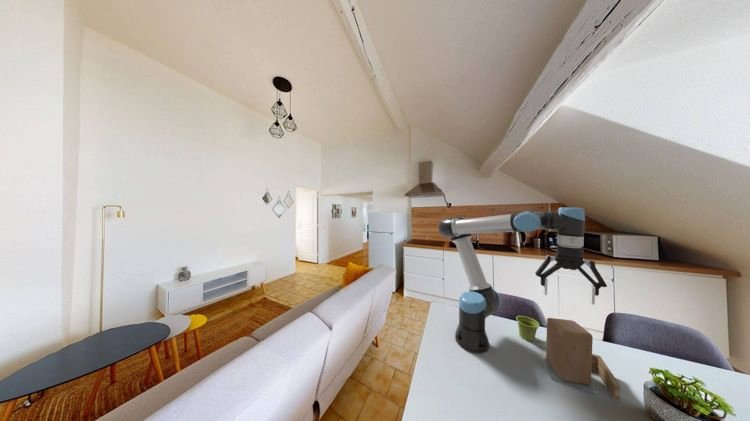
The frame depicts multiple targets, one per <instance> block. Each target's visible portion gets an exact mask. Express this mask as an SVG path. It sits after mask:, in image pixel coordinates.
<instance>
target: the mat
mask: <svg viewBox="0 0 750 421" xmlns="http://www.w3.org/2000/svg"><path fill="white" fill-rule="evenodd" d="M544 359H545V363H546V366H547V369H548V373H549V377H550V380H553V381H556V382H558V383H560V384H561V383H562V384H564V385H567V386H570V387H572V388H575V389H578V390H581V391H584V392H586V393H588V394H593V395H594V396H596V393H595V391H594V388H593V386H592V384H590V385H585V384H579V383H573V382H568V381H563V380H561V379H560V378H559V377H558V376H557V375H556V373H555V372H554V371H553V370H552V368H551V367H550V366H549V365H548V363H547V362H546V357H545V358H544Z"/></svg>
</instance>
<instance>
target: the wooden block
mask: <svg viewBox="0 0 750 421" xmlns="http://www.w3.org/2000/svg"><path fill="white" fill-rule="evenodd" d="M545 340H546V341H545V358H546V360H545V363H546V362H547V363H548V365H549V366H550V367H551V368H552V370H553V371H554V372H555V373H556V375H557V376H558V377H559V378H560V379H561V380H563V381H568V382H573V383H579V384H585V385H592V369H591V368H592V354H593V343H594V342H593V340H594V339H593V334H592V333H590V332H589V331H588V330H587V329H585V328H584V327H583V326H581V325H580V324H578V323H577V322H576V321H574V320H571V319H562V318H555V317H554V318H553V317H548V318H547V319H546V339H545ZM547 363H546V364H547Z"/></svg>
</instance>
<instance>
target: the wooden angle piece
mask: <svg viewBox="0 0 750 421" xmlns="http://www.w3.org/2000/svg"><path fill="white" fill-rule="evenodd" d="M591 370H593V371H596V373H597V374H598V375H599V377H600V378H601V380H602V382H603V384H604V386H605V388H606V389H607V390H608V392H609V394H610V396H611V397H612V399H613V400H614V401H617V402H620V393H621V392H620V391H621V390H620V388H621V384H620V383H619V382H618V380H617V379H616V377H615V376H614V374H613V373H612V371H611V369H609V367H608V366H607V364H606V362H605V361H604V359H603V358H602V357H601V355H598V354H595V353H592V368H591Z"/></svg>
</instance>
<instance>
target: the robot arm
mask: <svg viewBox="0 0 750 421" xmlns="http://www.w3.org/2000/svg"><path fill="white" fill-rule="evenodd" d="M585 216H586V211H585V209H584V208H582V207H558V210H557V211H537V210H536V211H535V210H528V211H527V210H526V211H523V212H519V213H518V212H517V213H509V214H500V215H491V216H483V217H482V216H481V217H473V218H466V217H463V216H453V217H445V218H443V219H441V220H440V221H439V223H438V226H437V230H438V232H439V234H440V235H441V236H442V237H444V238H448V239H450V240H451V242H452V243H454V245H455V246H456V249H457V252H458V255H459V259H460V260H461V263H462V265H463V266H462V267H463V269H464V272H465V275H466V276H467V277H466V278H467V280H468V283H469V287H468V291H464V292H463V293H460V296H459V301H458V306H459V307H458V309H459V311H458V321H459V322H458V326H457V327H456V330H455V332H454V333H455V334H454V336H455V338H454V340H455V342H456V343H457V344H458V345H459V346H460V347H461V348H462V349H464V350H465V351H468V352H471V353H473V354H484V353H485V354H486V353H487V352H488V351H489V350H490V341H489V338H488V335H487V332H486V320H487V318H488V317H489V316H491V315H492V314H493V313H496V312H497V311H498V310H499V309H500V306H501V303H502V301H501V296H500V295H499V293H498V292H497V291H496V290H495V289H493V287H492V284H490V283H489V282H488V281H487V279H486V277H485V275H484V272H483V269H482V266H481V264H480V261H479V259H478V256H477V253H476V250H475V249H474V245H473V243H472V240H471V239H472V237H473V235H474V234H493V233H512V232H513V233H515V232H525V233H530V232H535V231H537V230H550V231H551V230H552V231H553V230H554V231H557V233H556V234H557V235H556V244H557V245H556V255H555V256H551V255H550V254H546V256H545V260H544V261H543V262H542V263H541V264H540V266H539V267H538V268H537V269H536V272H535V275H536V277H539V278H540V285H541V286H542V287H543V291H542V293H543V294H544V295H545V296H548V282H549V281H548V280H549V279H548V277H550V276H551V275H553V274H554V273H555V272H556V271H558V270H561V268H562V269H564V270H572V271H576V270H578V271H579V273H581V274H582V275H583V276H584V277H585V278H586V279H587V280H588V281H589V282H590V283H591V284H589V290H588V291H589V292H588V302H589V303H590V304H591V305H595V303H596V296H597V297H598V296H599V294H600V289H601V288H607V287H608V286H607V283H606V282H605V280H604V278H603V277H602V275H601V274H600V272H599V271H598V269H597V267H596V261H594V260H592V259H587V260H585V259H584V248H583V247H584V244H585V243H584V241H585V240H584V239H585V238H584V237H585V228H586V227H585V224H586V217H585ZM554 260H555V261H556V263H554V265H552V266H551V267H550V268H548V269H547V267H548V266H549V264H550V263H551V262H553V261H554ZM584 265H586V266H587V267H589V269H590V270H591V272H592V274H593V276H595V279H596V280H597V282H596V280H595V279H594V278H592V277H591V276H590V274H589V273H587V271H585V269H584V268H582V266H584ZM545 269H547V270H545Z"/></svg>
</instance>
